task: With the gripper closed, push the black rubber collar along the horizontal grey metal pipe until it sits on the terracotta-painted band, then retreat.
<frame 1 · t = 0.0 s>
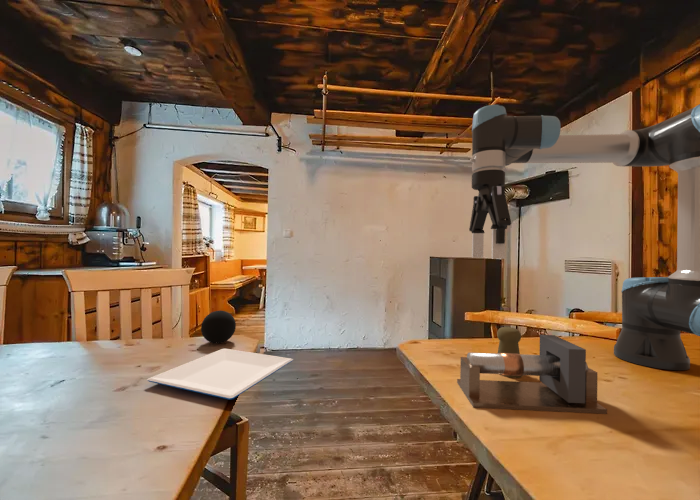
hand: (487, 258, 76), 28 cm above the table, fingers open, 13 cm apart
decorative ball: (218, 343, 96), on the table
cork: (508, 373, 75), on the table
pipe rig: (524, 396, 63), on the table
collar: (560, 366, 62), point 7 cm above the table, slide at 0.0 cm
plate: (226, 377, 71), on the table
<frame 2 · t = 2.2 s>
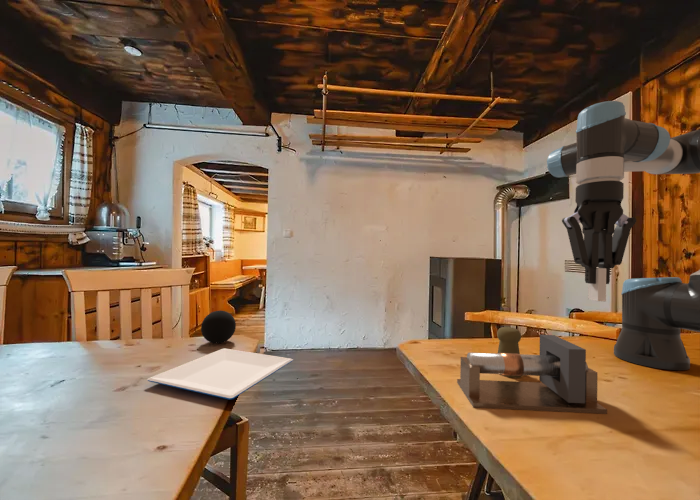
hand: (596, 300, 62), 20 cm above the table, fingers closed
nothing on the table moved.
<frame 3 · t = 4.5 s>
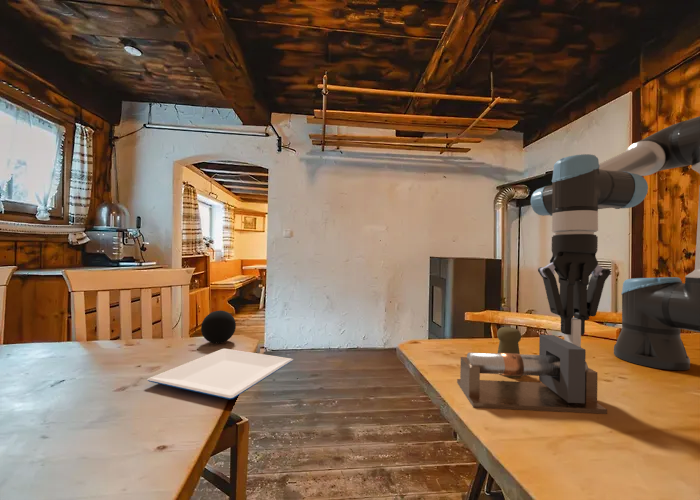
hand: (572, 350, 62), 10 cm above the table, fingers closed
collar: (560, 366, 62), point 7 cm above the table, slide at 0.1 cm, touching gripper
everything else where it was.
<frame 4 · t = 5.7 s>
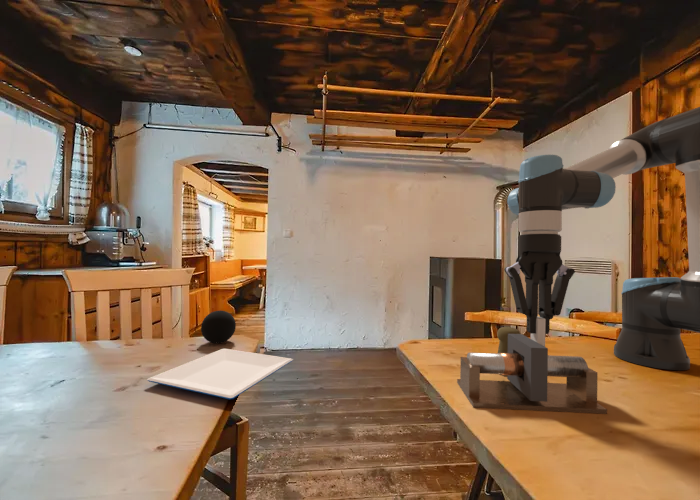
hand: (537, 349, 63), 10 cm above the table, fingers closed
collar: (525, 364, 63), point 7 cm above the table, slide at 6.8 cm, touching gripper
everything else where it was.
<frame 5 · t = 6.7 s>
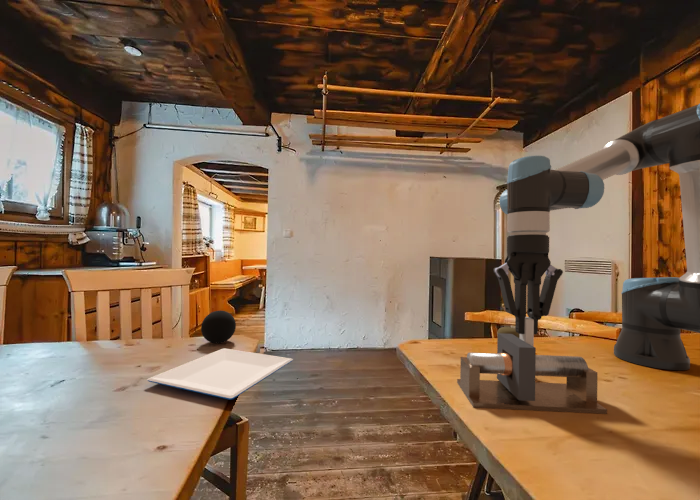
hand: (526, 349, 63), 10 cm above the table, fingers closed
collar: (514, 364, 63), point 7 cm above the table, slide at 9.0 cm, touching gripper
everything else where it was.
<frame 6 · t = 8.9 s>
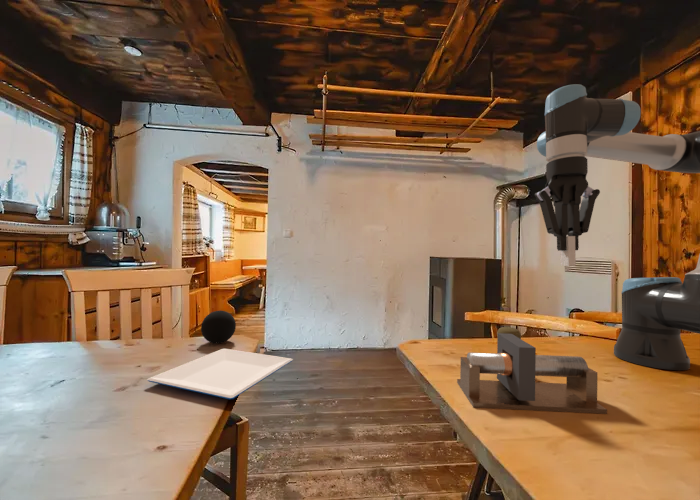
hand: (568, 265, 68), 27 cm above the table, fingers closed
collar: (514, 364, 63), point 7 cm above the table, slide at 9.0 cm
everything else where it was.
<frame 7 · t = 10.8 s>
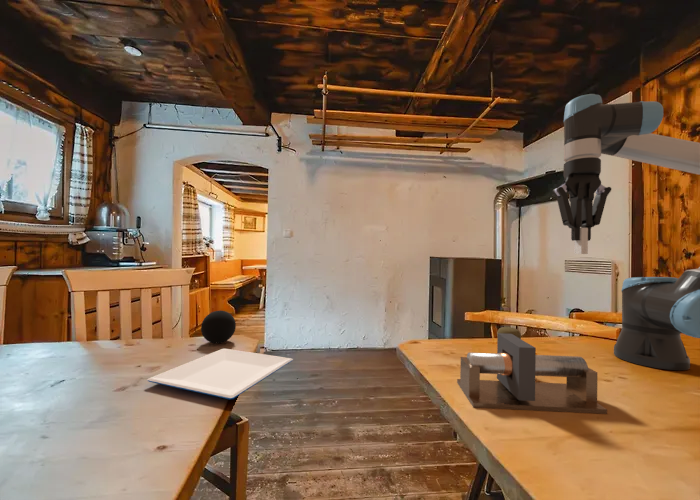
hand: (580, 253, 77), 29 cm above the table, fingers closed
nothing on the table moved.
at the end: collar slide at 9.0 cm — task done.
